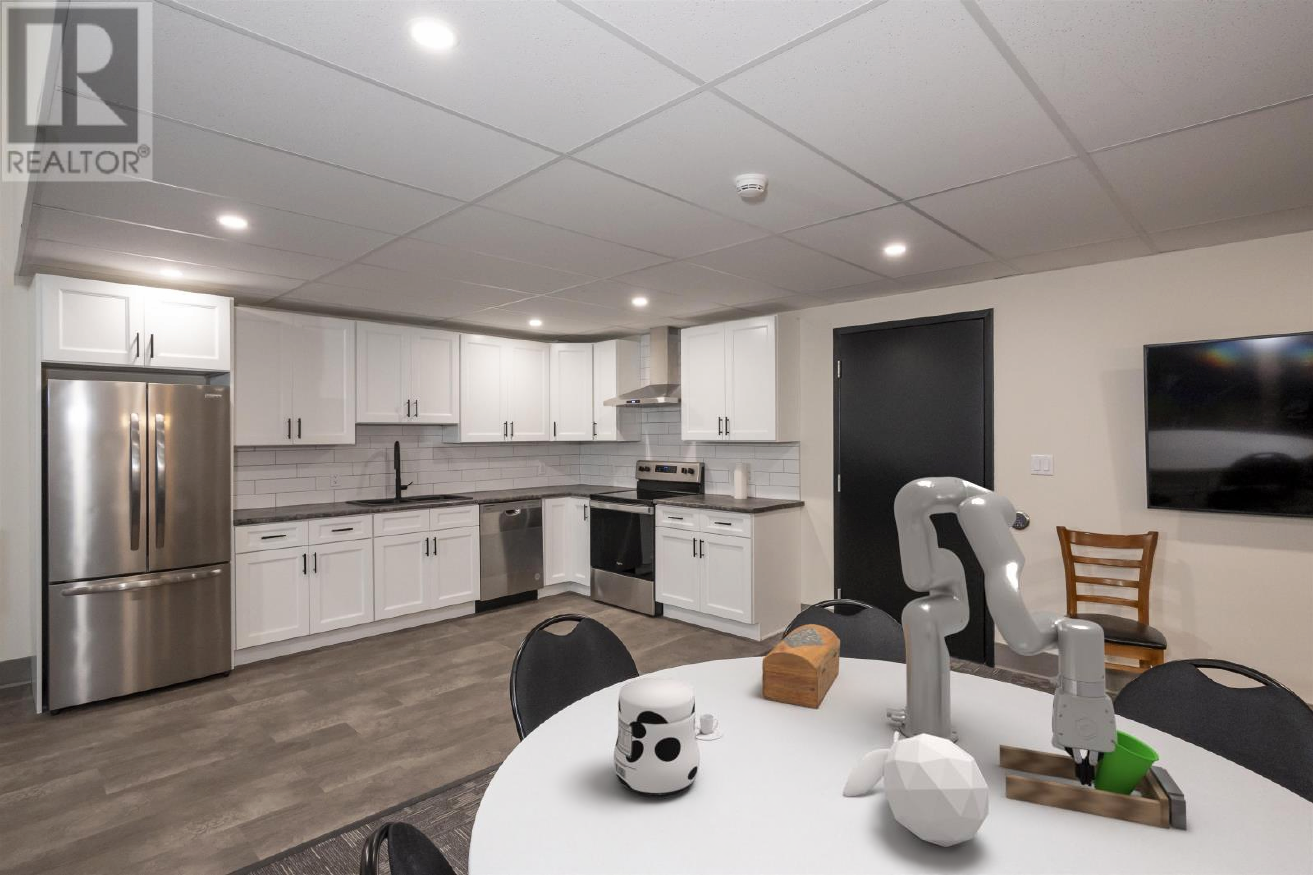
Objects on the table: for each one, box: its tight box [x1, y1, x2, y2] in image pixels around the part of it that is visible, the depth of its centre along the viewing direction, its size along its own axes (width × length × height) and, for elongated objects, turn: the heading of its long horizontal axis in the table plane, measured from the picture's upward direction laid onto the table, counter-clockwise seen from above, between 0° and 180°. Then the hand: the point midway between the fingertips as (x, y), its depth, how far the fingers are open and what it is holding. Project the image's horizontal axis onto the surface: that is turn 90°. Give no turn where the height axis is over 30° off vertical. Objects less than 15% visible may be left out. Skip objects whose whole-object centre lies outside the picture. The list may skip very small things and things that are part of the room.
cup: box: [1093, 729, 1160, 796], centre depth 122 cm, size 9×9×11 cm
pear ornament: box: [842, 731, 990, 848], centre depth 116 cm, size 16×22×28 cm
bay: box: [999, 744, 1187, 831], centre depth 124 cm, size 28×14×5 cm, turn 67°
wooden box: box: [761, 623, 841, 709], centre depth 182 cm, size 30×16×14 cm, turn 153°
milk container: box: [613, 677, 701, 796], centre depth 130 cm, size 17×17×18 cm
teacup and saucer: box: [695, 713, 724, 741], centre depth 151 cm, size 9×8×4 cm
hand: (1084, 782), depth 124 cm, fingers closed
